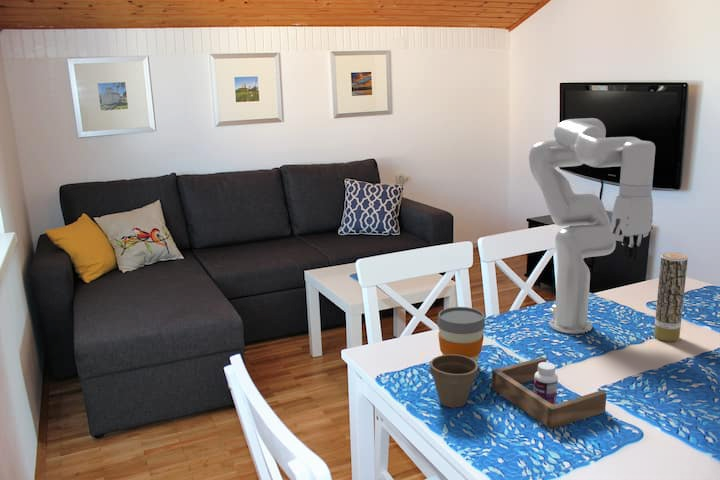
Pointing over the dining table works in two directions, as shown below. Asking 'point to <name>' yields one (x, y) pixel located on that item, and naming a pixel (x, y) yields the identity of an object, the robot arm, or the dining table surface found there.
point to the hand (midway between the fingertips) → (629, 260)
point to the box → (546, 413)
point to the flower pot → (453, 378)
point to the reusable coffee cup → (461, 331)
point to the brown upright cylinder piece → (670, 296)
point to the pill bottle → (546, 382)
